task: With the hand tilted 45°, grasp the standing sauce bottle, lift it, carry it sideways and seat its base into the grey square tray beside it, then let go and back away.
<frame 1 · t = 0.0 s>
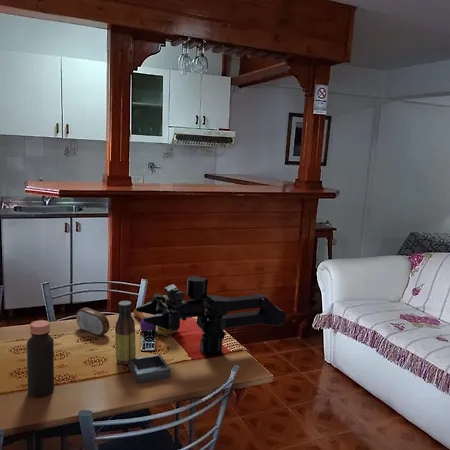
hand: (139, 314, 146), 17 cm above the table, tool horizontal, fingers open, 9 cm apart
decorative figurine: (168, 333, 174), on the table
grey square tray: (149, 372, 144), on the table
sauce bottle: (125, 361, 150), on the table
wooden speaker: (91, 332, 171), on the table
dark grey water bottle: (41, 391, 130), on the table
kendama: (143, 325, 180), on the table
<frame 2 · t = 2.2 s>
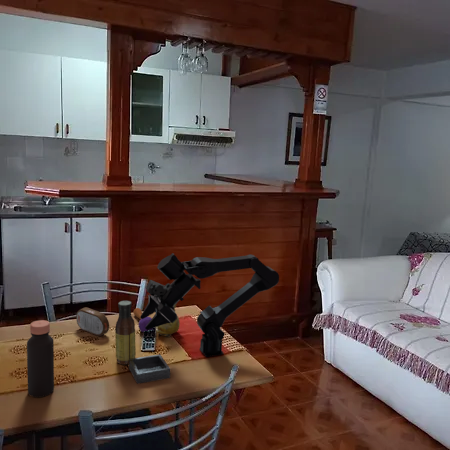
hand: (143, 323, 150), 12 cm above the table, tool tilted 45°, fingers open, 9 cm apart
nothing on the table moved.
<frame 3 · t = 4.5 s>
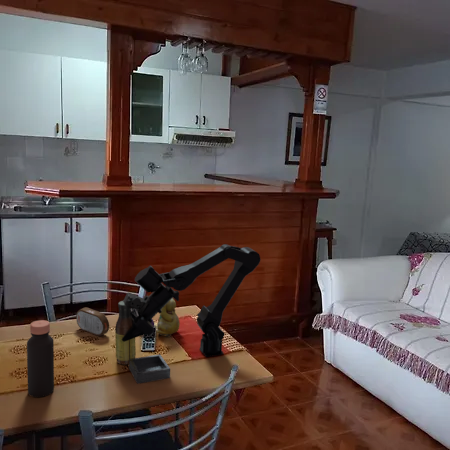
hand: (121, 336, 148), 9 cm above the table, tool tilted 45°, fingers closed on sauce bottle, 6 cm apart
sauce bottle: (125, 361, 150), on the table, touching gripper
everything else where it was.
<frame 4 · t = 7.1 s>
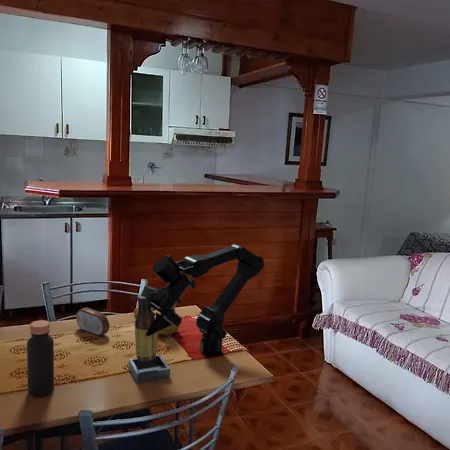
hand: (141, 331, 142), 13 cm above the table, tool tilted 45°, fingers closed on sauce bottle, 6 cm apart
sauce bottle: (145, 358, 144), point 4 cm above the table, touching gripper
everything else where it was.
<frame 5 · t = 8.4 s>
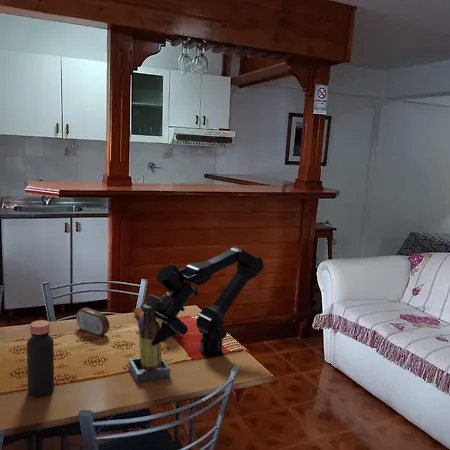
hand: (146, 341, 141), 11 cm above the table, tool tilted 45°, fingers closed on sauce bottle, 6 cm apart
sauce bottle: (150, 368, 143), point 2 cm above the table, touching gripper
everything else where it was.
when the fingers open (10 cm above the table, at t = 9.6 s): sauce bottle drops 1 cm, resting on grey square tray.
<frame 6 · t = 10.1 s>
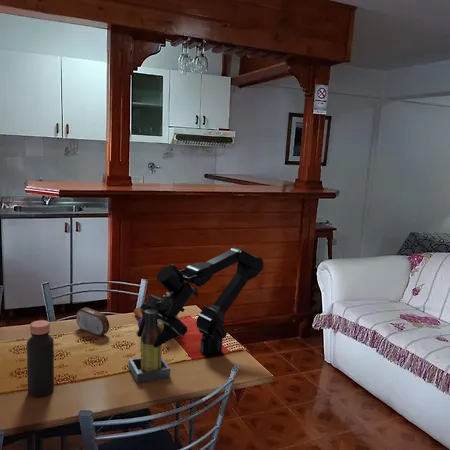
hand: (146, 341, 141), 11 cm above the table, tool tilted 45°, fingers open, 9 cm apart
sauce bottle: (150, 372, 143), resting on grey square tray
everything else where it was.
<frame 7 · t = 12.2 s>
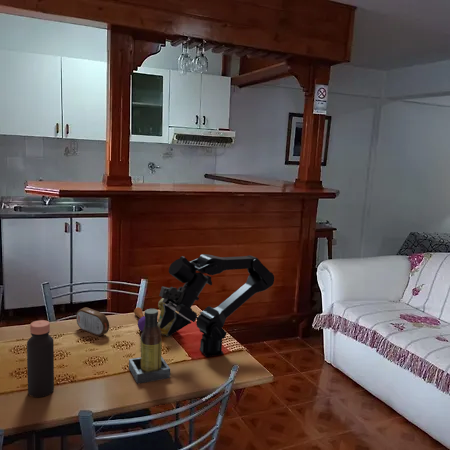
hand: (164, 331, 148), 11 cm above the table, tool tilted 35°, fingers open, 9 cm apart
nothing on the table moved.
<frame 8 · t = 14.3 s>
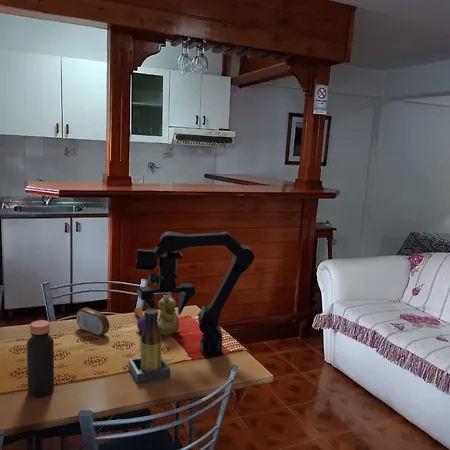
hand: (166, 315, 156), 13 cm above the table, tool pointing down, fingers open, 9 cm apart
nothing on the table moved.
at the end: sauce bottle 0.7 cm off-centre on the grey square tray, point 0.4 cm above the grey square tray's base; sauce bottle tilted 0°; the gripper is holding nothing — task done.
